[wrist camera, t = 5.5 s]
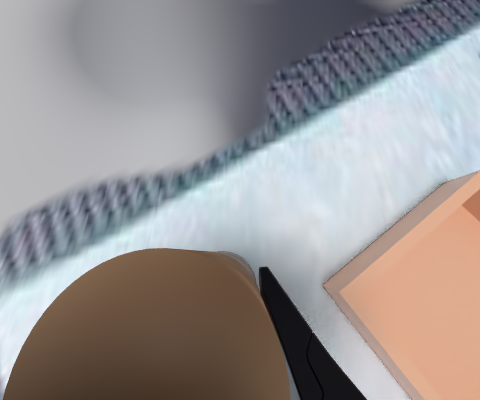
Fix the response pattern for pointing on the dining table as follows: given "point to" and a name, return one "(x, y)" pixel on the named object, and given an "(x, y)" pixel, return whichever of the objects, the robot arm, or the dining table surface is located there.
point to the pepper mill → (155, 334)
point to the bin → (422, 294)
